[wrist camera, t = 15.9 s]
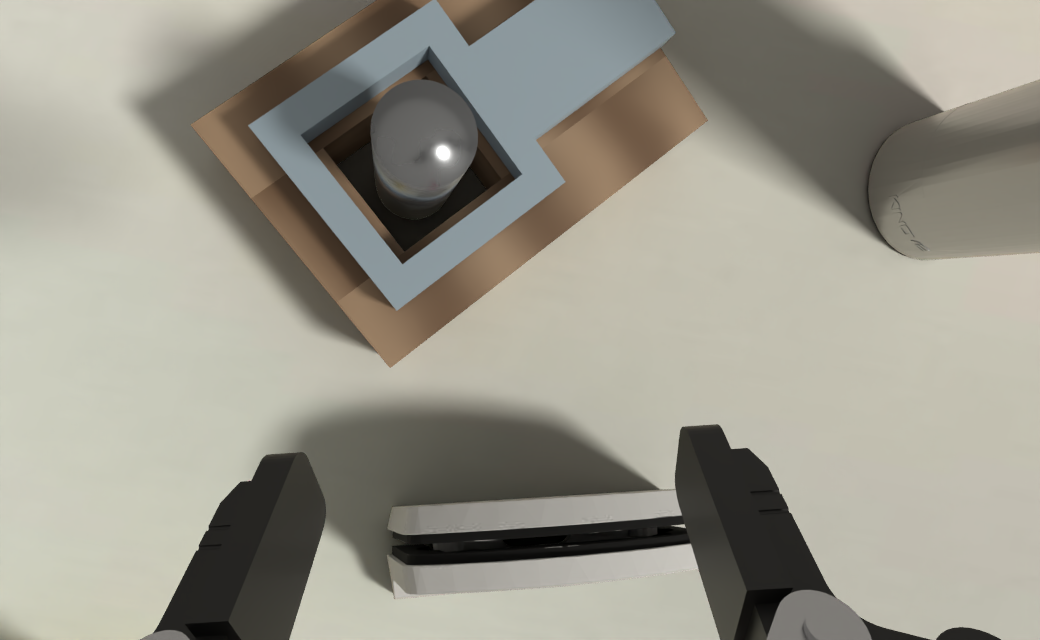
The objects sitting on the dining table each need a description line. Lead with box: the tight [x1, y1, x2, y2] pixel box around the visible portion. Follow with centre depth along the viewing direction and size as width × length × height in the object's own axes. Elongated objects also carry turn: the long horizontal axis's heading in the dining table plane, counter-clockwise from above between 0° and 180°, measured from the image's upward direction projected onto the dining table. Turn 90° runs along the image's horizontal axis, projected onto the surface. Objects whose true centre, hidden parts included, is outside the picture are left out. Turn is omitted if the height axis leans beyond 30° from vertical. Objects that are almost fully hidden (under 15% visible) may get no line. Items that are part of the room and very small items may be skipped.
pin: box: [371, 80, 478, 220], centre depth 26 cm, size 4×4×10 cm
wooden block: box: [191, 0, 708, 368], centre depth 29 cm, size 21×14×4 cm, turn 127°
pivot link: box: [248, 0, 676, 311], centre depth 27 cm, size 19×10×2 cm, turn 127°
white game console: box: [387, 489, 698, 599], centre depth 29 cm, size 17×5×10 cm, turn 89°
